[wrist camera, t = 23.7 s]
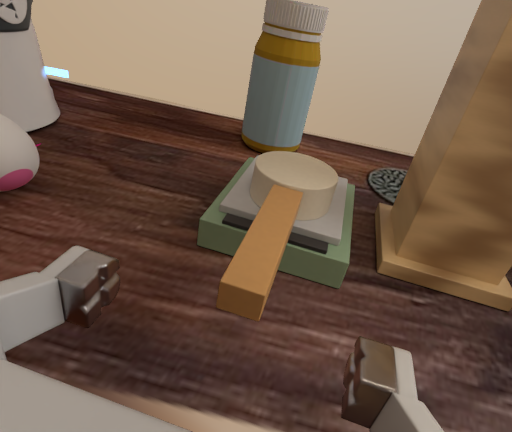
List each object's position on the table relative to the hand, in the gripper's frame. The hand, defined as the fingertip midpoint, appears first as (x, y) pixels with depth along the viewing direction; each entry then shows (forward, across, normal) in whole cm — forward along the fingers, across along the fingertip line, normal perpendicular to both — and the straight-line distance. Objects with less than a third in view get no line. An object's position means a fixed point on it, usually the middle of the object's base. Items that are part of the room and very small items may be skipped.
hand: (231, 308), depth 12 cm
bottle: (+33, +5, +7) cm, 34 cm away
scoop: (+11, 0, +4) cm, 11 cm away
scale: (+17, 0, +7) cm, 18 cm away
